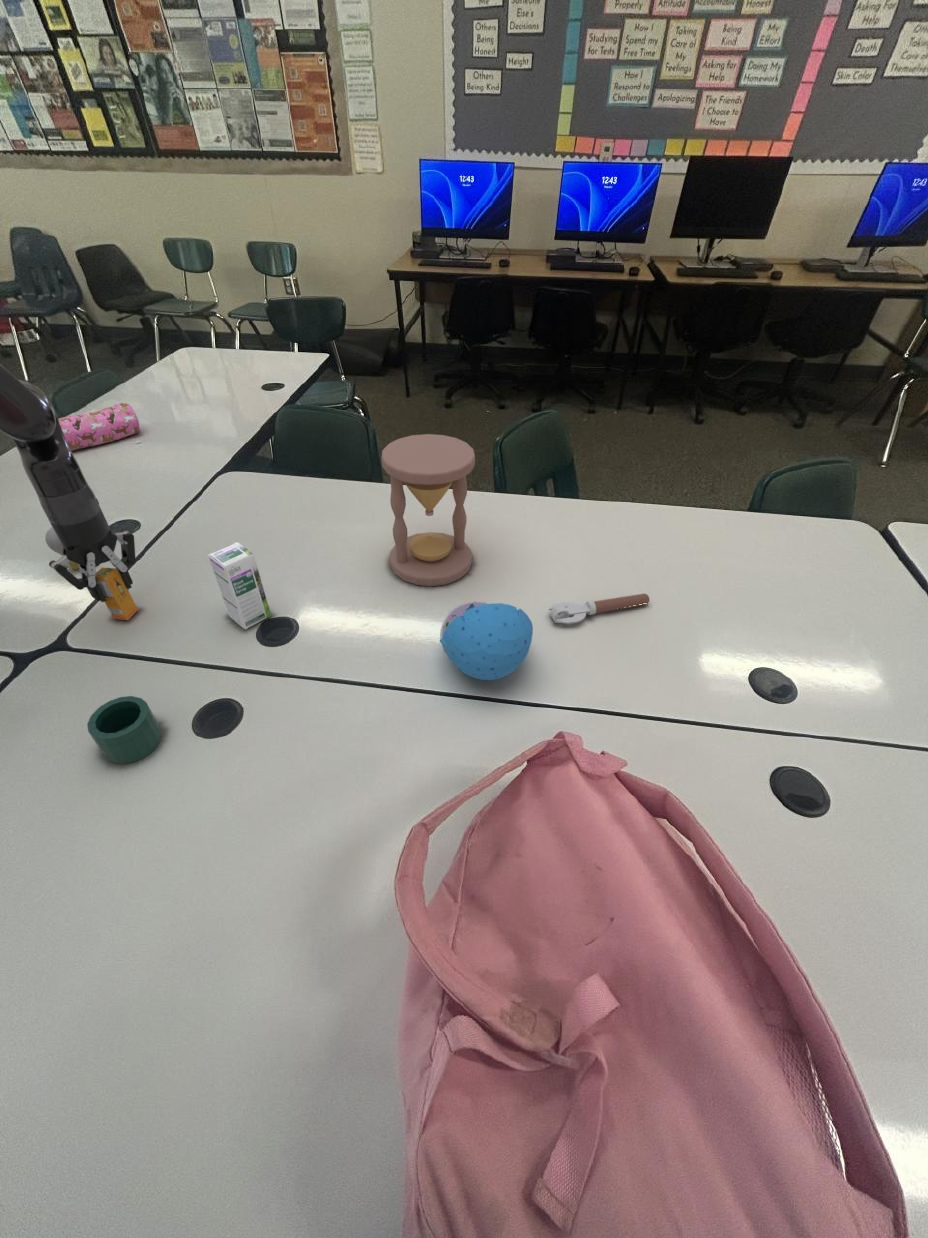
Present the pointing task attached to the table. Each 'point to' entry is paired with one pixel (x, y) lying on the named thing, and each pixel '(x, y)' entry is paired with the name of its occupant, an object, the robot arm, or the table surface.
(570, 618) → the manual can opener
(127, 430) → the pencil case
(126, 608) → the supplement box
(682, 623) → the table surface
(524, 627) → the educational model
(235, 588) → the syrup box
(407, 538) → the hourglass
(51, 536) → the light bulb
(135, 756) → the green pipe cap
